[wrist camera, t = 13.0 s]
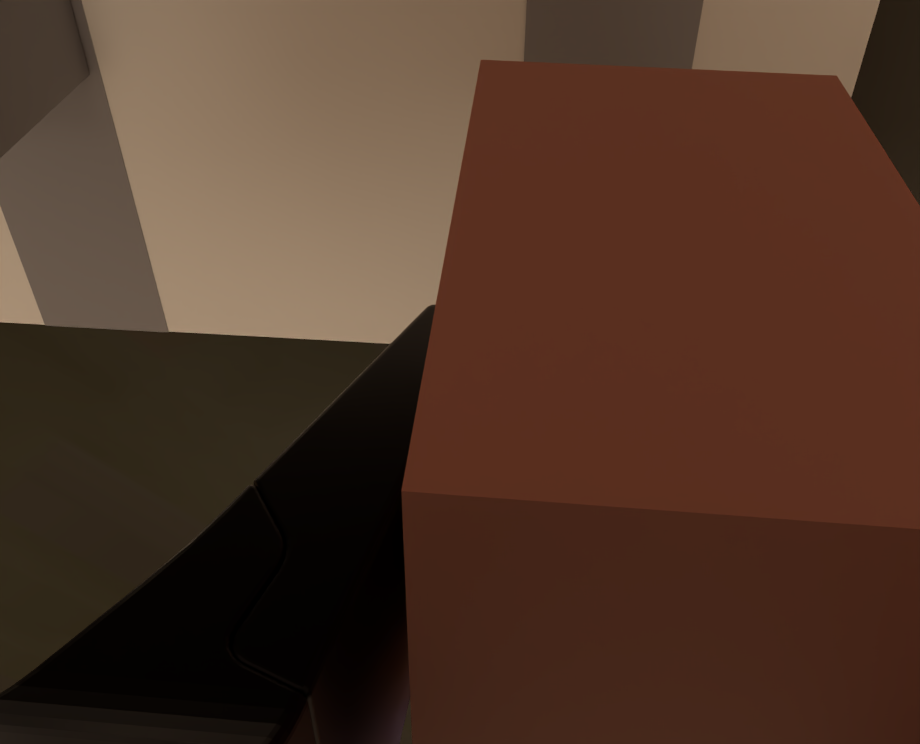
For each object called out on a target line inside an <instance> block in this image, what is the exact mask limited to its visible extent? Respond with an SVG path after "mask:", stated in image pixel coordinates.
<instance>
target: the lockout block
mask: <svg viewBox="0 0 920 744" xmlns="http://www.w3.org/2000/svg"><path fill="white" fill-rule="evenodd" d="M401 495H402V518H403V541H404V564H405V587H406V610H407V633H408V656H409V679H410V702H411V725H412V744H920V206H919V204H918V203H917V201H916V199H915V198H914V196H913V195H912V193H911V192H910V190H909V188H908V187H907V185H906V184H905V182H904V181H903V179H902V177H901V176H900V174H899V173H898V171H897V169H896V168H895V166H894V165H893V163H892V162H891V160H890V158H889V157H888V155H887V154H886V152H885V151H884V149H883V147H882V146H881V144H880V143H879V141H878V140H877V138H876V136H875V135H874V133H873V132H872V130H871V129H870V127H869V125H868V124H867V122H866V121H865V119H864V118H863V116H862V114H861V113H860V111H859V110H858V108H857V107H856V105H855V103H854V102H853V100H852V99H851V97H850V96H849V94H848V92H847V91H846V89H845V88H844V86H843V85H842V83H841V81H840V80H839V78H838V77H837V76H835V75H813V74H790V73H768V72H746V71H723V70H701V69H679V68H657V67H634V66H612V65H590V64H567V63H545V62H523V61H501V60H481V61H480V67H479V72H478V77H477V83H476V88H475V94H474V99H473V105H472V110H471V115H470V121H469V126H468V132H467V137H466V143H465V148H464V153H463V159H462V164H461V170H460V175H459V181H458V186H457V191H456V197H455V202H454V208H453V213H452V219H451V224H450V229H449V235H448V240H447V246H446V251H445V257H444V262H443V267H442V273H441V278H440V284H439V289H438V295H437V300H436V306H435V311H434V316H433V322H432V327H431V333H430V338H429V344H428V349H427V354H426V360H425V365H424V371H423V376H422V381H421V387H420V392H419V398H418V403H417V409H416V414H415V420H414V425H413V430H412V436H411V441H410V447H409V452H408V458H407V463H406V468H405V474H404V479H403V485H402V490H401Z"/></svg>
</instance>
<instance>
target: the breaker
mask: <svg viewBox="0 0 920 744" xmlns="http://www.w3.org/2000/svg"><path fill="white" fill-rule="evenodd" d="M89 75H90V73H89V70H88V66H87V62H86V59H85V55H84V51H83V48H82V44H81V40H80V37H79V33H78V29H77V25H76V22H75V18H74V14H73V11H72V7H71V3H70V0H0V158H1V157H2V156H3V155H4V154H5V153H6V152H8V151H9V150H10V149H11V148H12V147H13V146H14V145H15V144H16V143H17V142H18V141H19V140H20V139H21V138H22V137H24V136H25V135H26V134H27V133H28V132H29V131H30V130H31V129H32V128H33V127H34V126H35V125H36V124H37V123H39V122H40V121H41V120H42V119H43V118H44V117H45V116H46V115H47V114H48V113H49V112H50V111H51V110H52V109H54V108H55V107H56V106H57V105H58V104H59V103H60V102H61V101H62V100H63V99H64V98H65V97H66V96H67V95H69V94H70V93H71V92H72V91H73V90H74V89H75V88H76V87H77V86H78V85H79V84H80V83H81V82H82V81H84V80H85V79H86V78H87V77H88V76H89Z"/></svg>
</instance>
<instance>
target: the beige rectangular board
mask: <svg viewBox="0 0 920 744" xmlns="http://www.w3.org/2000/svg"><path fill="white" fill-rule="evenodd" d="M70 3H71V7H72V11H73V14H74V18H75V22H76V25H77V29H78V33H79V37H80V40H81V44H82V48H83V51H84V55H85V59H86V62H87V66H88V70H89V73H90V75H89V76H88V77H87V78H86V79H85V80H84V81H82V82H81V83H80V84H79V85H78V86H77V87H76V88H75V89H74V90H73V91H72V92H71V93H70V94H69V95H67V96H66V97H65V98H64V99H63V100H62V101H61V102H60V103H59V104H58V105H57V106H56V107H55V108H54V109H52V110H51V111H50V112H49V113H48V114H47V115H46V116H45V117H44V118H43V119H42V120H41V121H40V122H39V123H37V124H36V125H35V126H34V127H33V128H32V129H31V130H30V131H29V132H28V133H27V134H26V135H25V136H24V137H22V138H21V139H20V140H19V141H18V142H17V143H16V144H15V145H14V146H13V147H12V148H11V149H10V150H9V151H8V152H6V153H5V154H4V155H3V156H2V157H1V158H0V322H7V323H25V324H43V325H45V326H63V327H81V328H99V329H117V330H135V331H153V332H169V331H170V332H188V333H206V334H224V335H242V336H261V337H279V338H297V339H315V340H333V341H351V342H369V343H387V344H391V343H392V342H393V341H394V340H395V339H396V338H397V337H398V336H399V335H400V334H401V333H402V331H403V330H404V329H405V328H406V327H407V326H408V325H409V324H410V323H411V322H412V321H413V320H414V319H415V318H416V317H417V316H418V315H419V314H420V313H421V312H422V311H423V310H424V309H425V308H426V307H428V306H430V305H434V304H435V305H436V300H437V295H438V289H439V284H440V278H441V273H442V267H443V262H444V257H445V251H446V246H447V240H448V235H449V229H450V224H451V219H452V213H453V208H454V202H455V197H456V191H457V186H458V181H459V175H460V170H461V164H462V159H463V153H464V148H465V143H466V137H467V132H468V126H469V121H470V115H471V110H472V105H473V99H474V94H475V88H476V83H477V77H478V72H479V67H480V61H481V60H501V61H523V62H545V63H567V64H590V65H612V66H634V67H657V68H679V69H701V70H723V71H746V72H768V73H790V74H813V75H835V76H837V77H838V78H839V80H840V81H841V83H842V85H843V86H844V88H845V89H846V91H847V92H848V94H849V96H850V97H852V93H853V90H854V87H855V83H856V80H857V76H858V73H859V70H860V66H861V63H862V60H863V56H864V53H865V50H866V46H867V43H868V39H869V36H870V33H871V29H872V26H873V23H874V19H875V16H876V13H877V9H878V6H879V3H880V0H70Z"/></svg>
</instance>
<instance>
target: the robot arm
mask: <svg viewBox="0 0 920 744" xmlns="http://www.w3.org/2000/svg"><path fill="white" fill-rule="evenodd" d="M435 306H436V305H435V304H434V305H430V306H428V307H426V308H425V309H424V310H423V311H422V312H421V313H420V314H419V315H418V316H417V317H416V318H415V319H414V320H413V321H412V322H411V323H410V324H409V325H408V326H407V327H406V328H405V329H404V330H403V331H402V333H401V334H400V335H399V336H398V337H397V338H396V339H395V340H394V341H393V342H392V343H391V344H390V345H389V346H388V347H387V348H386V349H385V350H384V351H383V352H382V353H381V354H380V355H379V356H378V357H377V358H376V359H375V360H374V361H373V362H372V363H371V364H370V365H369V366H368V367H367V368H366V369H365V370H364V371H363V372H362V373H361V374H360V375H359V376H358V377H357V378H356V379H355V380H354V381H353V382H352V383H351V384H350V385H349V386H348V387H347V388H346V389H345V390H344V391H343V392H342V393H341V394H340V395H339V396H338V397H337V398H336V399H335V400H334V401H333V402H332V403H331V404H330V405H329V406H328V407H327V408H326V409H325V410H324V411H323V412H322V413H321V414H320V415H319V416H318V417H317V418H316V419H315V420H314V421H313V422H312V423H311V424H310V425H309V426H308V427H307V428H306V429H305V430H304V431H303V432H302V433H301V434H300V435H299V436H298V437H297V438H296V439H295V440H294V441H293V442H292V443H291V444H290V445H289V446H288V447H287V448H286V449H285V450H284V451H283V452H282V453H281V454H280V455H279V456H278V457H277V458H276V459H275V460H274V461H273V462H272V463H271V464H270V465H269V466H268V467H267V468H266V469H265V470H264V471H263V472H262V473H261V474H260V475H259V476H258V477H257V478H256V479H255V481H254V485H249V486H248V487H247V488H246V489H245V490H244V491H243V492H242V493H241V494H240V495H239V496H238V497H237V498H236V499H235V500H234V501H233V502H232V503H231V504H230V505H229V506H228V507H227V508H226V509H225V510H224V511H223V512H222V513H221V514H219V515H218V516H217V517H216V518H215V519H214V520H213V521H212V522H211V523H210V524H209V525H208V526H207V527H206V528H205V529H204V530H203V531H201V532H200V533H199V534H198V535H197V536H196V537H195V538H194V539H193V540H192V541H191V542H190V543H189V544H187V545H186V546H185V547H184V548H183V549H182V550H180V551H179V552H178V553H177V554H176V555H174V556H173V557H172V558H171V559H170V560H169V561H167V562H166V563H165V564H164V565H163V566H161V567H160V568H159V569H158V570H157V571H156V572H154V573H153V574H152V575H151V576H150V577H148V578H147V579H146V580H145V581H144V582H142V583H141V584H140V585H139V586H137V587H136V588H135V589H134V590H132V591H131V592H130V593H129V594H127V595H126V596H125V597H124V598H123V599H121V600H120V601H119V602H118V603H116V604H115V605H114V606H113V607H111V608H110V609H109V610H108V611H106V612H105V613H104V614H103V615H101V616H100V617H99V618H98V619H96V620H95V621H94V622H93V623H91V624H90V625H89V626H88V627H86V628H85V629H84V630H83V631H81V632H80V633H79V634H78V635H76V636H75V637H74V638H73V639H71V640H70V641H69V642H68V643H67V644H65V645H64V646H63V647H62V648H60V649H59V650H58V651H57V652H55V653H54V654H53V655H52V656H50V657H49V658H48V659H47V660H45V661H44V662H43V663H42V664H40V665H39V666H38V667H37V668H35V669H34V670H33V671H31V672H30V673H29V674H27V675H26V676H25V677H23V678H22V679H21V680H19V681H18V682H17V683H15V684H14V685H13V686H11V687H10V688H8V689H6V690H5V691H3V692H2V693H0V744H399V743H400V738H401V734H402V730H403V725H404V721H405V717H406V713H407V708H408V704H409V700H410V679H409V656H408V633H407V610H406V587H405V564H404V541H403V518H402V495H401V490H402V485H403V479H404V474H405V468H406V463H407V458H408V452H409V447H410V441H411V436H412V430H413V425H414V420H415V414H416V409H417V403H418V398H419V392H420V387H421V381H422V376H423V371H424V365H425V360H426V354H427V349H428V344H429V338H430V333H431V327H432V322H433V316H434V311H435Z"/></svg>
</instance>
